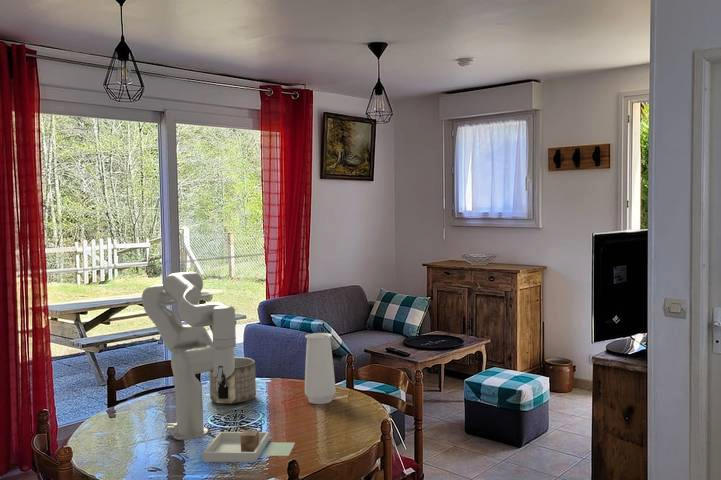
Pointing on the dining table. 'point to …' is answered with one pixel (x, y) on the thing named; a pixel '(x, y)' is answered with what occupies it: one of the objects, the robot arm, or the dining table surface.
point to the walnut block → (249, 440)
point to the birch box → (230, 390)
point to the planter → (239, 381)
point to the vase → (319, 369)
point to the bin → (232, 448)
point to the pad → (278, 449)
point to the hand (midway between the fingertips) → (225, 395)
